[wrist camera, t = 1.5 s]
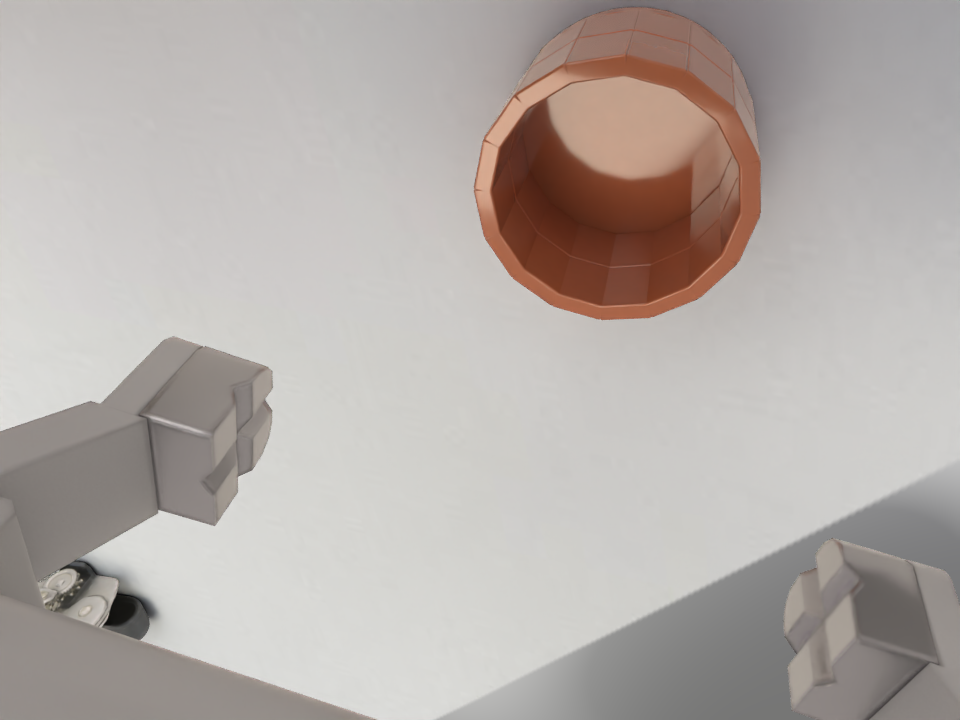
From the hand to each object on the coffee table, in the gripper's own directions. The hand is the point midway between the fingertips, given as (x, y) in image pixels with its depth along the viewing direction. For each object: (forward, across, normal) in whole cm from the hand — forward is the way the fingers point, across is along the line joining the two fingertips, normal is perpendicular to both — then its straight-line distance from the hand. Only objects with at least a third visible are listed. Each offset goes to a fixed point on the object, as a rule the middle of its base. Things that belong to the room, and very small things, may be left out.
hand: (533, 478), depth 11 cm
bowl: (+13, 0, 0) cm, 13 cm away
